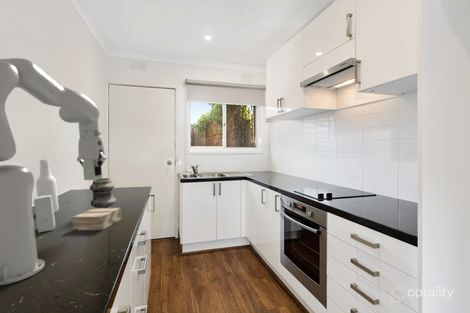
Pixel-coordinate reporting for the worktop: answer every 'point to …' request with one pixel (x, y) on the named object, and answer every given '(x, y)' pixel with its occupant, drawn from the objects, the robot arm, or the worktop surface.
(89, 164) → the sage block
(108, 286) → the worktop surface
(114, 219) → the birch block
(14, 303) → the worktop surface
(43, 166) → the alcohol
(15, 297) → the worktop surface
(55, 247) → the worktop surface
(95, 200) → the apothecary jar
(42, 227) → the skincare box
